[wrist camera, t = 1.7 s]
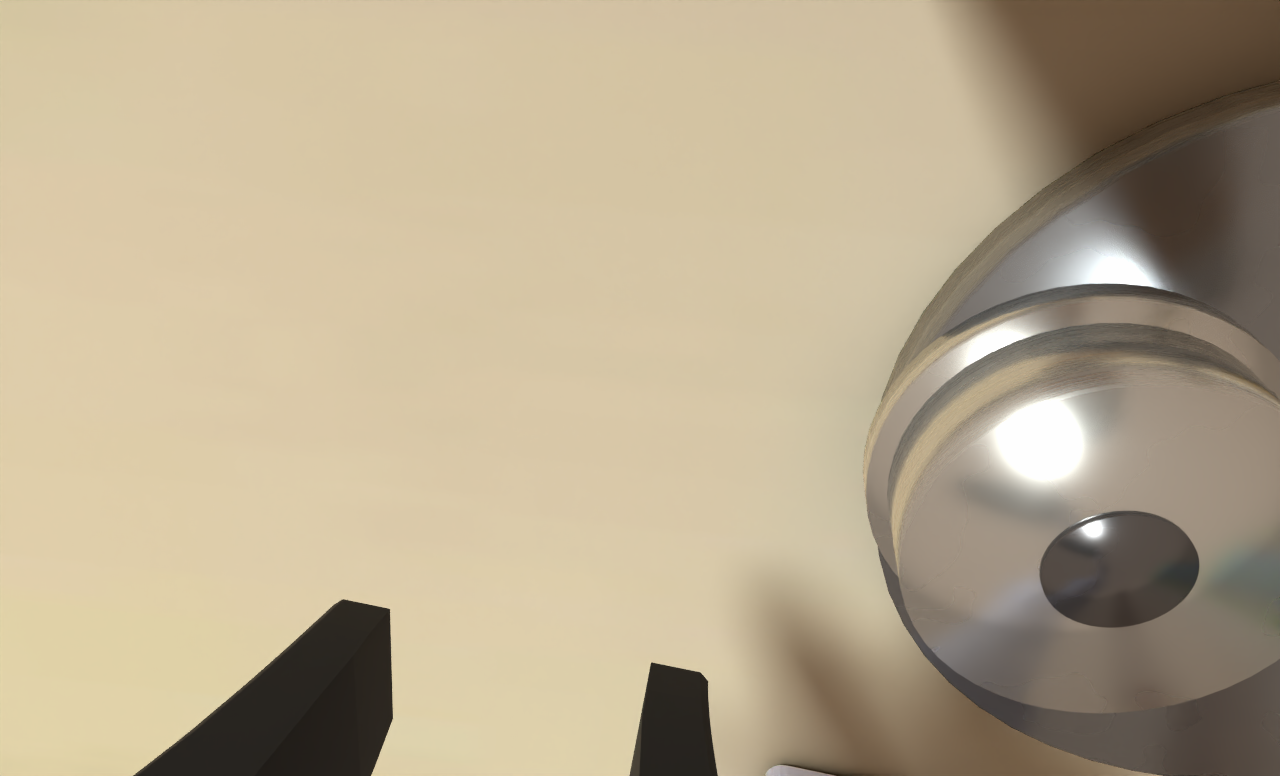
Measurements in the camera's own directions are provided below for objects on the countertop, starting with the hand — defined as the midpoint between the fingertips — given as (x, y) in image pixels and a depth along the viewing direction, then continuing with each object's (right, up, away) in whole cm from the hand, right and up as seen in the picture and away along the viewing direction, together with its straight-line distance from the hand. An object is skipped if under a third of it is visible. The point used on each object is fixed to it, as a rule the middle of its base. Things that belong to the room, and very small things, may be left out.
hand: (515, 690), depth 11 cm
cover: (+10, +2, +6) cm, 12 cm away
